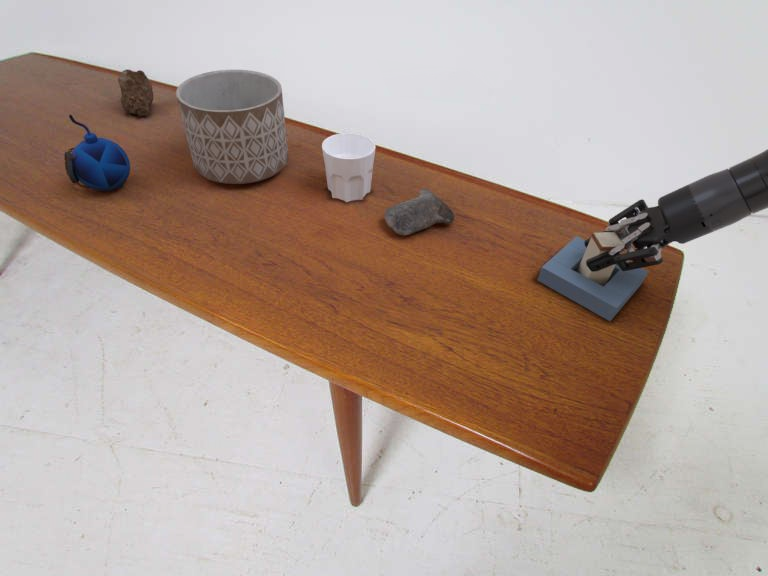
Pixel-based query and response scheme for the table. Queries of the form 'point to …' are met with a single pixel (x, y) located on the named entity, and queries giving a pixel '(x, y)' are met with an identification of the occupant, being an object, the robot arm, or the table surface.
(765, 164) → the robot arm
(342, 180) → the cup
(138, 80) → the rock
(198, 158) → the planter
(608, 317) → the blue square frame
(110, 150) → the bomb
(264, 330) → the table surface
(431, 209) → the stone
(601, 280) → the brown square block
